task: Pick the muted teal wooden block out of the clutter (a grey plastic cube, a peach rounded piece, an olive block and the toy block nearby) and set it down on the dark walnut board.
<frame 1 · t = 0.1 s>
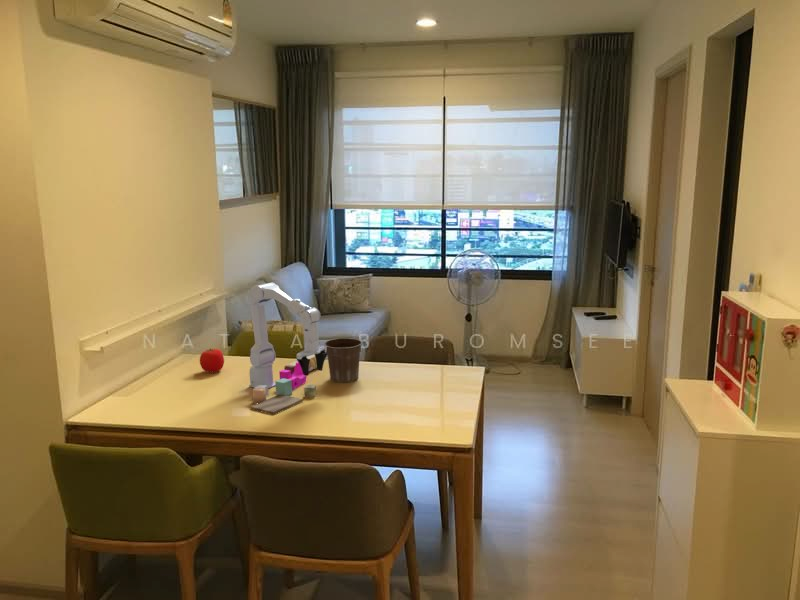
hand: (312, 372, 251), 10 cm above the table, tool pointing down, fingers open, 7 cm apart
toy block: (296, 384, 270), on the table
snack package: (304, 373, 286), on the table
board: (277, 405, 244), on the table
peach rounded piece: (260, 401, 249), on the table
tomato: (213, 372, 290), on the table
teal block: (284, 394, 256), on the table
grey cube: (261, 396, 255), on the table
plant pot: (344, 379, 275), on the table
olive block: (310, 395, 255), on the table
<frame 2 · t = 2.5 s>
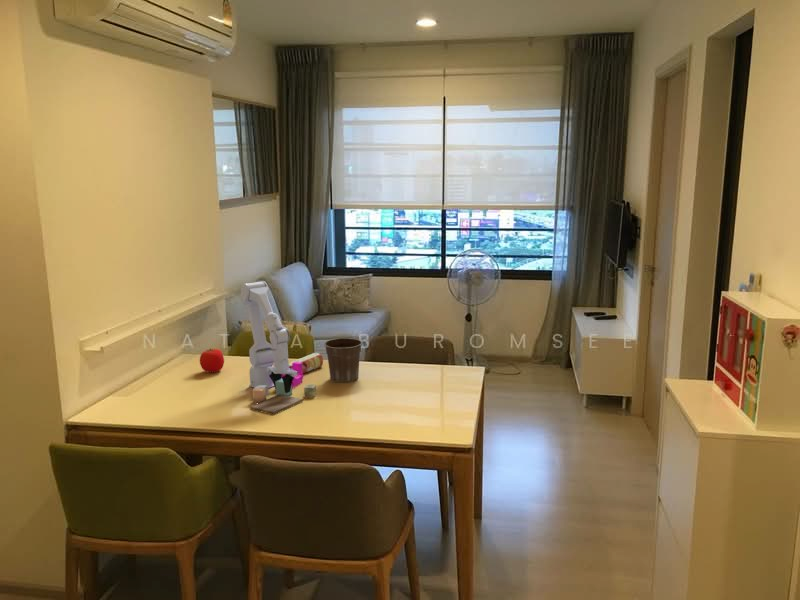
hand: (283, 391, 256), 2 cm above the table, tool pointing down, fingers closed on teal block, 4 cm apart
toy block: (292, 384, 270), on the table
teal block: (284, 394, 256), on the table, touching gripper
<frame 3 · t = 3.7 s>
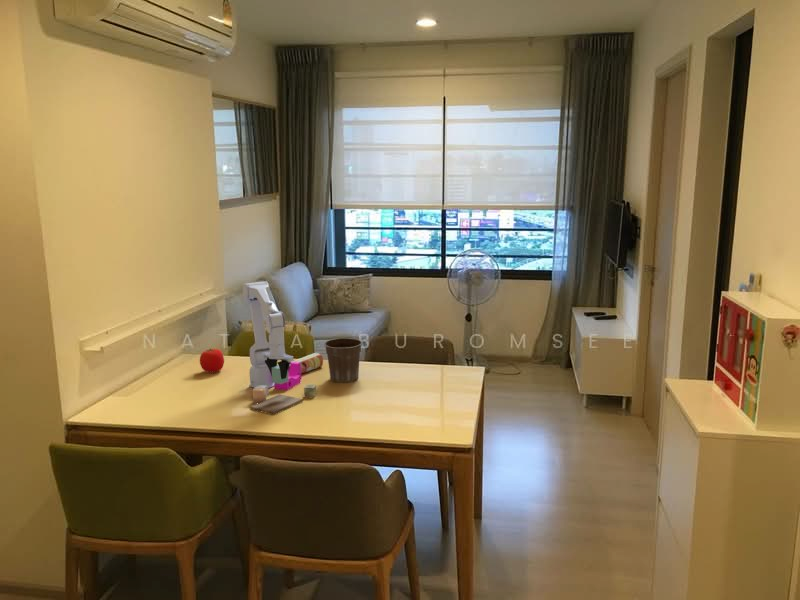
hand: (278, 377, 248), 9 cm above the table, tool pointing down, fingers closed on teal block, 4 cm apart
teal block: (280, 381, 249), point 7 cm above the table, touching gripper
when the fingers open (4 cm above the table, at t = 5.5 s): teal block drops 1 cm, resting on board.
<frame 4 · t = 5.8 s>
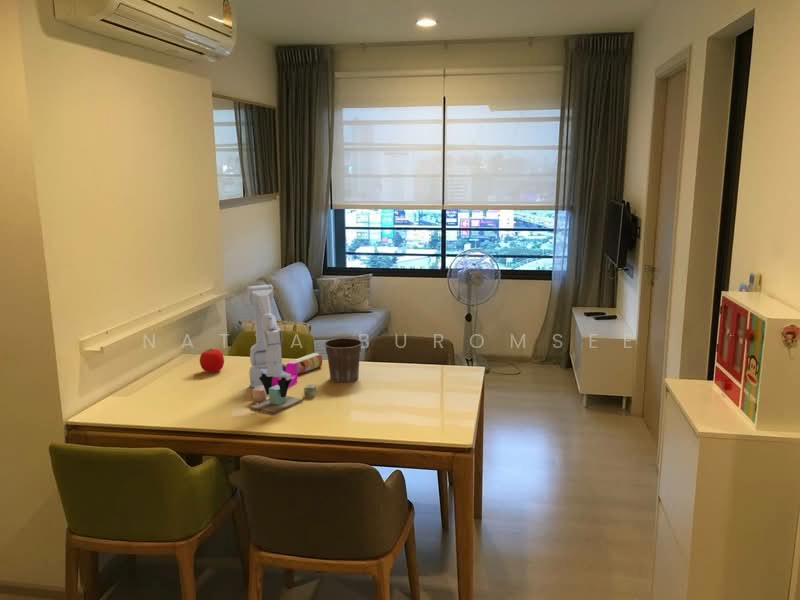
hand: (276, 395, 244), 4 cm above the table, tool pointing down, fingers open, 7 cm apart
toy block: (287, 385, 270), on the table
teal block: (278, 402, 245), point 1 cm above the table, touching board
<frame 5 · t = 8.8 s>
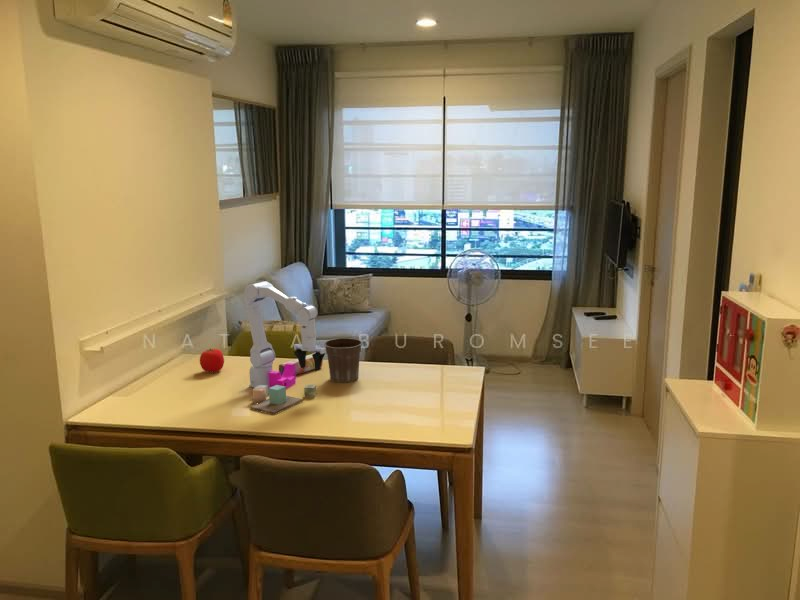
hand: (310, 368, 255), 10 cm above the table, tool pointing down, fingers open, 7 cm apart
toy block: (285, 385, 269), on the table
at the end: teal block inside the target area on the board (0.6 cm from its centre), point 1.0 cm above the board's base; teal block tilted 0°; the gripper is holding nothing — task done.
